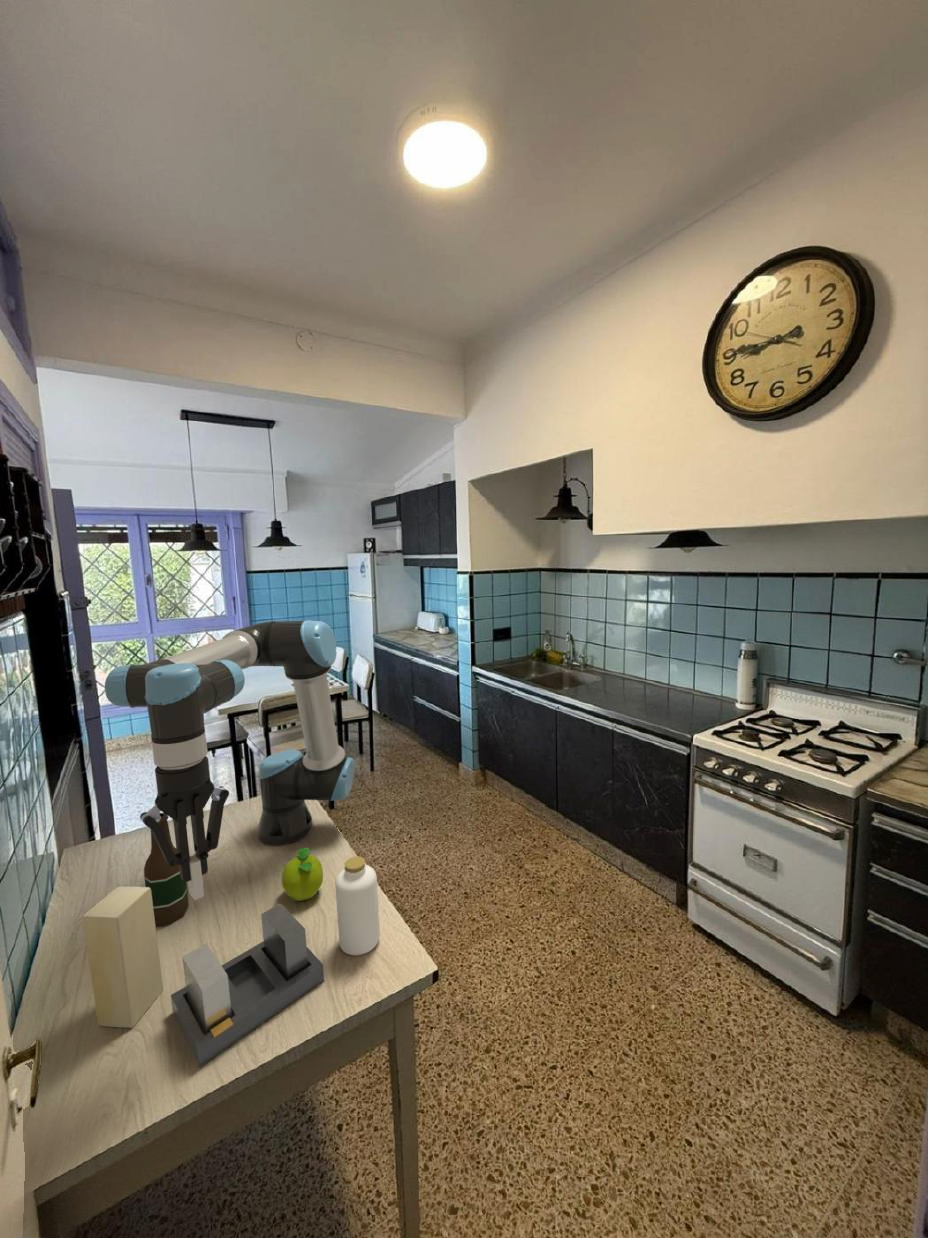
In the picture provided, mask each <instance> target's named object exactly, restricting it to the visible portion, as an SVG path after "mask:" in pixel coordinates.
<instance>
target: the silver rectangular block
mask: <svg viewBox="0 0 928 1238" xmlns="http://www.w3.org/2000/svg"><path fill="white" fill-rule="evenodd" d="M182 964H183V973H184V981H185V982H184V983H185V986H186V992H187V1000H188V1006H189V1008H190V1010H191V1012H192V1014H193V1016H194V1017H195V1019H196V1021H197V1023H198V1025H199V1027H200V1029H201V1031H202V1033H203V1035H204V1036H205V1035H206V1034H208V1033H209V1032H211V1029H213V1028H214V1027H216V1026H217V1025H219V1024H220V1023H222V1022H223V1021H225V1020H226V1019H228V1018H229V1017H230V1018H232V1012H231V1003H230V993H229V983H228V975H227V973H226V972H225V970H224V969H223V967H222V965H221V963H220V961H219V960H218V959H217V957H216V955H215V954H214V952H213V951H212V949H211V948H210V946H209V944H208V943H205V944H203V945H201V946H199V947H198V948H196V949H193V950H192V951H189V952H188V953H186V954H184V955H183V956H182Z"/></svg>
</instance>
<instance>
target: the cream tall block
mask: <svg viewBox="0 0 928 1238" xmlns="http://www.w3.org/2000/svg"><path fill="white" fill-rule="evenodd" d="M82 924H83V929H84V936H85V944H86V950H87V957H88V964H89V969H90V970H89V971H90V978H91V983H92V984H91V985H92V986H91V987H92V990H93V999H94V1006H95V1012H96V1021H97V1025H98V1026H101V1027H107V1028H109V1027H110V1028H112V1027H113V1028H122V1029H123V1028H125V1029H126V1028H128V1029H132V1028H133V1027H135V1026H136V1025H137V1023H138V1022H139V1021H140V1020H141V1018H142V1017H143V1016H144V1014H145V1013H146V1012H147V1011H148V1010H149V1008H150V1007H151V1006H152V1005H153V1003H154V1002H155V1001H156V1000H157V998H158V997H159V996H160V995H161V994H162V992H163V990H164V985H163V976H162V968H161V961H160V954H159V945H158V944H159V943H158V936H157V935H158V934H157V929H156V927H157V926H156V925H155V919H154V910H153V902H152V894H151V889H150V888H149V887H145V886H128V885H127V886H116V888H114V889H113V890H112V891H111V892H110V893H108V894H107V895H105V897H104V898H102V899H101V900H100V901H99V902H97V904H95V905H94V906H92V907H91V908H90V909H89V910H88V911H87V912H85V914H84V915H82Z"/></svg>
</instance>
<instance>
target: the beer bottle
mask: <svg viewBox="0 0 928 1238" xmlns="http://www.w3.org/2000/svg"><path fill="white" fill-rule="evenodd" d="M160 816H161V819H160V821H159V822H158V823H159V824H160V825H161V827H162V828H163V831H164V833H165V835H166V837H167V839H168V841H169V844H170V846H171V848H172V850H173V852H174V854H177V849H176V846H174V844H173V842H172V837H171V832H170V826H169V821H168V819H169V818H170V817H169V816H168V815H166V814H165V813H164V812H160ZM150 840H151V841H150V844H151V847H150V854H149V855H148V858H147V859H146V861H145V863H144V867H143V879H144V887H149V888H150V889H151V894H152V902H153V910H154V919H155V926H156V927H160V926H167V925H172V924H174V923H175V922H176V921H177V922H178V920H180V919H181V918H182V919H183V917H184V916H185V914H186V913H187V911H188V908H189V904H190V903H189V890H188V882H186V883H184V881H183V880H182V878H181V877H180V868H179V865H175V866H174V867H170V866H169V864H168V863H167V862H166V860H165V858H164V856H163V854H162V852H161V850H160V848H159V846H158V843H157V841H156V839H155V837H154V835H153V833H152V831H151V830H150Z"/></svg>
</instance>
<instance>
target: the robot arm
mask: <svg viewBox="0 0 928 1238" xmlns="http://www.w3.org/2000/svg"><path fill="white" fill-rule="evenodd" d="M337 653H338V652H337V641H336V637H335V634H334V632H333V630H332V628H331V626H329V625H328V624H327V623H326V622H324V621H321V620H311V619H307V620H306V619H305V620H285V621H282V620H279V621H278V620H277V621H275V620H272V621H263V622H258V623H255V624H252V625H248V626H245V627H242V628H238V629H235V630H232V631H230V632H227V633H225V635H224V636H223V637H221V639H219V640H215V641H213V642H209V643H207V644H204V645H201V646H197V647H195V648H191V649H188V650H184V651H183V652H179V653H175V654H173V655H169V656H167V657H163V658H161V659H158V660H157V659H156V660H153V661H151V662H148V663H143V664H134V663H131V664H128V665H119V666H116V667H114V668H112V669H111V671H110V672H109V673H108V674H107V677H106V679H105V682H104V690H105V693H104V694H105V697H106V698H107V700H108V701H109V702H110V703H111V704H112V705H114V706H117V707H125V708H127V707H128V708H131V709H134V708H147V712H148V719H149V725H150V732H151V734H150V735H151V736H150V737H151V747H152V755H153V756H152V758H153V764H154V766H156V767H155V769H154V774H155V782H156V789H157V791H156V792H157V795H156V797H155V800H154V805H153V806H152V807H151V808H150V809H149V810H148V811H144V812H142V813H141V814H140V816H139V818H140V820H141V822H142V823H143V824H144V825H145V826H147V828H149V829H150V832H151V831H152V833H153V835H154V837H155V839H156V841H157V843H158V846H159V848H160V850H161V852H162V854H163V856H164V858H165V860H166V862H167V863H168V864H169V866H170V867H174V866H175V865H179V868H180V877H181V878H182V880H183V881H184V883H186V882H187V887H188V894H189V895H190V896H191V897H192V899H193V900H194V901H197V900H198V899H201V898H203V897H205V893H204V892H205V891H204V883H203V881H204V880H203V875H206V874H207V873H208V870H209V868H208V860H207V859H208V858H209V852H210V851H212V850H216V849H217V848H218V845H219V840H220V833H221V827H222V821H223V813H224V808H225V807H224V806H225V804H226V801H227V799H228V798H229V795H230V791H229V790H228V789H227V788H225V787H224V786H223V785H221V786H220V785H219V786H215V785H214V783H213V782H212V781H211V773H210V764H209V757H208V756H207V755H208V752H209V751H208V744H207V735H206V727H205V714H207V713H208V712H210V711H211V710H214V709H216V708H217V707H220V706H221V705H223V704H226V703H228V702H230V701H231V700H233V698H235V697H236V696H238V695H239V694H240V693H241V692H242V691H243V689H244V686H245V684H246V683H245V681H246V680H245V679H246V678H245V674H244V672H243V670H245V669H248V668H251V667H283V670H284V673H285V677H286V678H287V679H289V680H291V681H292V683H293V688H294V695H295V699H296V703H297V708H298V710H297V711H298V714H299V720H300V724H301V729H302V734H303V735H302V737H303V739H304V745H305V746H304V747H305V750H306V753H305V755H304V756H303V754H302V752H301V751H300V750H298V749H286V750H281V751H278V752H274V753H272V754H271V755H269V756H267V757H265V758H264V759H263V760H262V761H261V762H260V764H259V767H258V770H259V771H258V772H259V773H258V774H259V775H258V779H259V784H260V785H259V787H260V795H261V805H262V812H261V816H260V819H259V822H258V827H257V837H258V840H259V842H261V843H262V844H264V845H268V846H283V845H288V844H292V843H295V842H297V841H300V840H302V839H304V838H306V837H307V835H308V834H310V832H311V831H312V830H313V826H314V825H313V823H314V822H313V817H312V814H311V812H310V810H309V807H308V806H307V803H306V800H307V801H330V802H333V801H342V800H345V799H346V798H347V797H348V796H349V795H350V792H351V791H352V790H351V789H352V787H353V782H354V779H355V778H354V777H355V769H356V768H355V766H356V765H355V764H356V763H355V760H354V759H353V757H346V751H345V749H344V748H343V747H342V746H341V745H339V742H338V737H337V730H336V723H335V717H334V713H333V707H332V701H331V700H332V699H331V696H330V687H329V683H328V677H327V676H328V673H329V672H330V671H331V669H332V665H333V664H334V663H335V662H336V659H337ZM302 756H303V757H302ZM210 799H211V802H210V808H209V809H210V810H209V815H208V822H207V829H206V831H205V822H204V818H205V814H204V813H205V812H204V808H205V806H206V805H207V803H208V802H209V800H210ZM160 813H165V814H166V815H168V817H169V818H170V819H171V820H172V823H173V830H174V839H175V848H176V849H177V854H174V852H173V850H172V848H171V846H170V844H169V841H168V839H167V837H166V835H165V833H164V831H163V828H162V827H161V825H160V824H159V823H158V822H159V821H160V819H161V816H160ZM188 817H190V824H191V831H192V840H193V849H194V852H195V853H192V854H190V848H189V847H190V846H189V839H188V830H187V829H188V828H187V824H188V821H187V818H188Z"/></svg>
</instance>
